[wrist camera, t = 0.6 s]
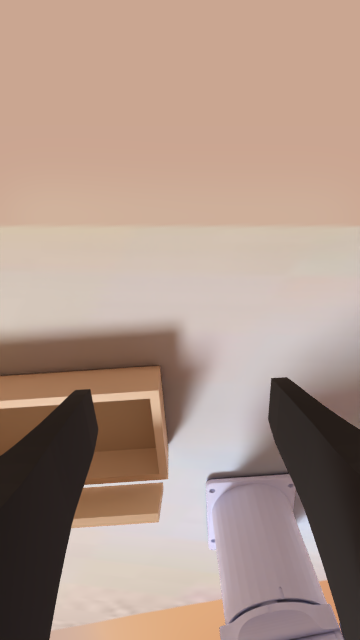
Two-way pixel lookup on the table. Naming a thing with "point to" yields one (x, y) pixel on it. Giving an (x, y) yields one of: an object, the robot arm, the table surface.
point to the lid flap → (118, 505)
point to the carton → (97, 417)
